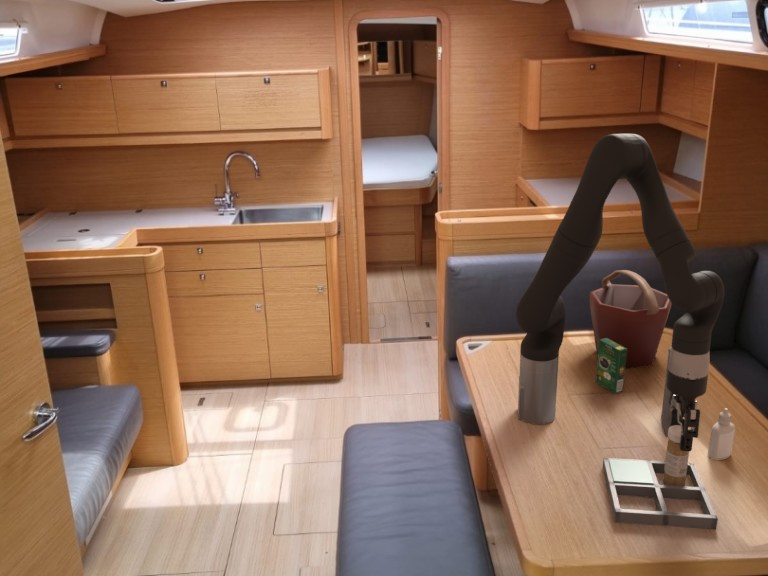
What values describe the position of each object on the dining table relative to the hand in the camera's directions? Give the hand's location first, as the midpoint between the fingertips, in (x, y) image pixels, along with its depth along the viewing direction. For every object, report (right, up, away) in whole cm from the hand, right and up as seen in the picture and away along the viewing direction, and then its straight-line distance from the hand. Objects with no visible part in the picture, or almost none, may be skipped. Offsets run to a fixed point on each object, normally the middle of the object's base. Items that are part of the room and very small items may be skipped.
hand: (680, 439), depth 151 cm
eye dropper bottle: (+14, -7, +14) cm, 21 cm away
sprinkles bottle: (0, -11, +4) cm, 11 cm away
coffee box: (-1, +4, +45) cm, 46 cm away
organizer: (-5, -12, 0) cm, 13 cm away
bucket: (+10, +11, +64) cm, 66 cm away
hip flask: (+9, -2, +28) cm, 29 cm away
